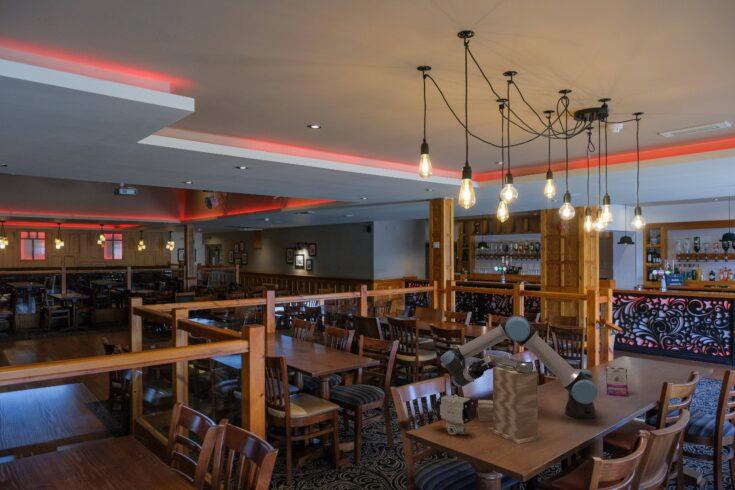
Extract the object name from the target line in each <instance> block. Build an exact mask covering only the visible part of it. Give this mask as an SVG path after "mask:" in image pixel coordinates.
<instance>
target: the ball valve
mask: <svg viewBox="0 0 735 490" xmlns="http://www.w3.org/2000/svg"><path fill="white" fill-rule="evenodd" d="M473 401H474V400H473V399H472V398H468V397H462V396H458V394H455V393H454V395H452V394H444V395H442V396H440V397H439V398H437V400H436V402H435V403H436V404H435V410H436V412H437V414H438V416H439V418H440V419H443V420H447V422H446V423H445V429H446V430H445V431H447V433H448V434H449V435H451V436H455V435H457V434H458V435H461V436H462V435H465V434H466V433H467V426H466V425H465V424H468V423H470V422H471V421H473V420H475V419H476V416H477V414H478V408H477V406H476V405H475V404H474V402H473Z"/></svg>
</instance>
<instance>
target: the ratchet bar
mask: <svg viewBox="0 0 735 490" xmlns="http://www.w3.org/2000/svg"><path fill="white" fill-rule="evenodd" d="M487 356H489V357H490V360H491V361H490V362H489V364H492V365H496V364H497V363H499V364H503V365H506V366H510V367H514V371H516V372H518V373H523V374H530V373H532V370H533V362H530V361H526V360H525V361H523V360H519V359H514V358H511V357H510V358H507V357H503V356H504V355H499V354H496V353H495V354H494V353H484V358H485V357H487Z"/></svg>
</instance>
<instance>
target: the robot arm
mask: <svg viewBox="0 0 735 490" xmlns="http://www.w3.org/2000/svg"><path fill="white" fill-rule="evenodd" d="M505 340H512V341H514V342H515V343H517V344H518V346H519V347H521V348H526V349H528V351H529V352H530V353H531V354H532V355H533V356H535V357H536V358H537V360H539V361H540V362H541V363H542V364H543V365H544V366H545V367H546V368H547V369H548V370H550V372H551V373H553V374H554V375H555V376H556V377H557V378H558V379H559V381H561V382H562V387H563V388H564V389H565V390H566V391H567V396H568V397H567V401H566V404H565V407H564V414H565V415H567V416H568V417H572V418H574V419H582V420H583V419H585V420H589V419H590V420H591V419H595V418H597V410H596V407H595V404H594V401H595V400H596V398H597V397H598V388H597V385H596V384H595V383H594V381H593V372H592V371H591V370H589V369H588V370H587V369H581V368H580V369H577V368H574V367H573V366H571V364H569V363H568V361H566V360H565V359H564V358H563V357H562V356H561V355H560V354H558V353H557V351H555V350H554V349H553V348H552V347H551V346H550V345H549V344H548V343H546V341H545V340H544V339H542V338H541V337H540V336H539V335H538V330H537V329H536V328H535V327H534V326H533V325H532V324H531V323H530V322H529V321H528V318H526V317H525V316H524V315H522V314H516V313H515V314H513V315H510V316H509V317H508V318H507V319H505V320H503V321H501V322H499V325H498V326H496V327H494V328H493V329H491V330H489V331H487V332H485V333H484V334H481V335H479V336H478V337H476V338H474V339H472V340H470V341H467V342H466V343H465V344H462V345H461V346H459V347H458V348H455V349H451V350H447V351H445V353H443V354H442V355H441V356H440V358H439V359H440V361H441V362H442V364H443V365H444V367H445V368H446V369H447V371H448V372H449V373H450V374H451V375H452V378H451V379H452V382H453V385H455V387H458V388H463V387H465V386H468V385H469V384H470V383H475V380H478V379H480V378H481V377H484V374H485V372H486V371H489V370H490V371H491V370H493V367H496V365H492V364H489V362H490V361H491V360H490V357H489V356H487V357H485V356H484V357H483V358H482V359H480V360H477V361H473V363H472V364H469V365H468V366H466V367H464V365H463V364H462V362H464V361H466V360H468V359H470V358H472V357H474V356H476V355H477V354H479V353H481V352H483V351H485V350H487V349H489V348H490V347H492V346H495V345H496V344H498V343H500V342H502V341H505ZM502 356H503V357H507V358H511V355H510V353H506V354H504V355H502Z"/></svg>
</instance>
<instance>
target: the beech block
mask: <svg viewBox="0 0 735 490" xmlns="http://www.w3.org/2000/svg"><path fill="white" fill-rule="evenodd" d="M477 414H478V415H477V416H478V421H480V422H492V423H493V399H491V400H489V399H478V400H477Z"/></svg>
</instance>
